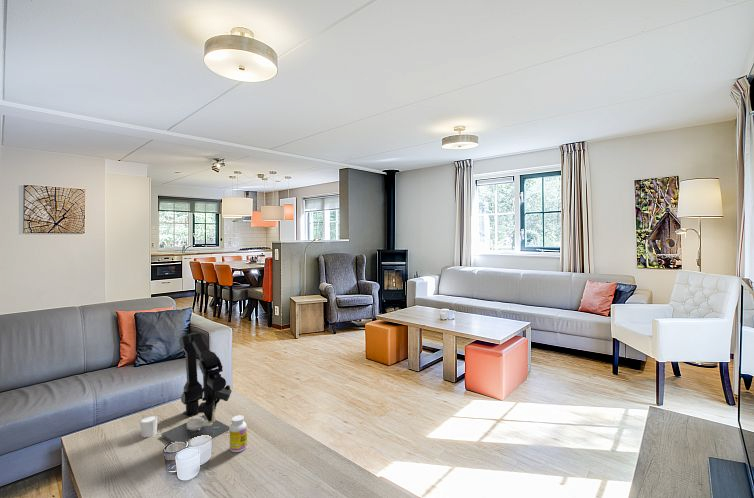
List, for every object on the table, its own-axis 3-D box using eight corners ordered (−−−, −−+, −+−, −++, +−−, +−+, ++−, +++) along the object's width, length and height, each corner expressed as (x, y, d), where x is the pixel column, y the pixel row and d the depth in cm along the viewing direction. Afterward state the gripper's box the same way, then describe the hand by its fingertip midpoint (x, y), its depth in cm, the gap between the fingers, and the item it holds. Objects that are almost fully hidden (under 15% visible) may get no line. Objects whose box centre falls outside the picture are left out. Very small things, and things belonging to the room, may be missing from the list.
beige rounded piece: (183, 430, 159) (183, 413, 158) (191, 421, 166) (190, 405, 165) (212, 429, 159) (211, 411, 159) (218, 420, 166) (217, 404, 166)
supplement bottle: (241, 454, 147) (240, 423, 146) (226, 452, 148) (225, 421, 147) (250, 444, 153) (249, 414, 153) (236, 442, 155) (235, 413, 154)
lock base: (161, 436, 160) (161, 429, 160) (205, 417, 176) (205, 410, 176) (184, 452, 149) (184, 444, 148) (229, 429, 165) (229, 423, 165)
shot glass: (161, 430, 166) (161, 415, 165) (151, 438, 159) (150, 423, 158) (147, 429, 166) (147, 414, 166) (136, 438, 159) (135, 422, 159)
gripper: (224, 391, 154) (225, 427, 155) (234, 375, 173) (235, 407, 173) (196, 393, 153) (197, 430, 153) (209, 377, 171) (210, 409, 171)
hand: (211, 418), depth 163 cm, fingers open, 3 cm apart
